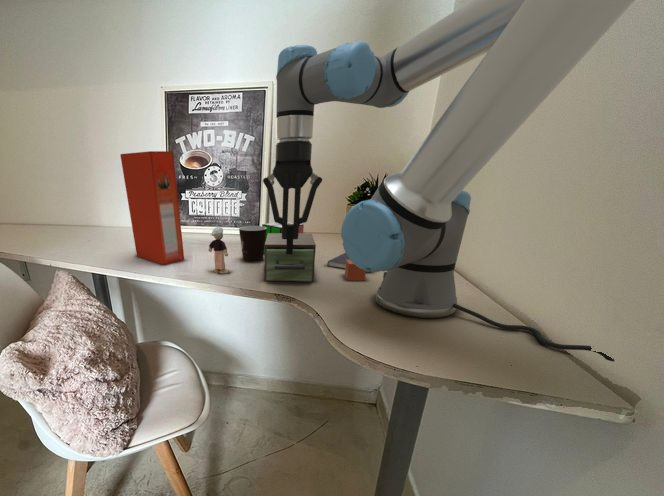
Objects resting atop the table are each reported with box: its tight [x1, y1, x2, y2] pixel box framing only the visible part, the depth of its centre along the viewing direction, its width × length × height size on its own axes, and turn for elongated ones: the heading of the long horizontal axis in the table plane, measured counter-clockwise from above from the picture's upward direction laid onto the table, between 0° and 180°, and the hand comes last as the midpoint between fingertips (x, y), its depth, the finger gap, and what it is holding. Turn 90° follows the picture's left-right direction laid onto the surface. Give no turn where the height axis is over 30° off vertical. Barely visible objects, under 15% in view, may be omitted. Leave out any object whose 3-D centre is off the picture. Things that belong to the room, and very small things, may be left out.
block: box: [344, 260, 367, 282], centre depth 87 cm, size 4×4×4 cm
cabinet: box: [264, 232, 317, 283], centre depth 92 cm, size 16×13×10 cm
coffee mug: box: [238, 225, 267, 263], centre depth 107 cm, size 12×9×10 cm
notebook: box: [327, 252, 372, 274], centre depth 103 cm, size 13×2×21 cm
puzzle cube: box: [261, 221, 304, 255], centre depth 112 cm, size 10×10×10 cm
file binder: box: [119, 150, 185, 266], centre depth 105 cm, size 8×17×32 cm, turn 44°
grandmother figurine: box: [208, 226, 229, 275], centre depth 94 cm, size 8×4×13 cm, turn 56°
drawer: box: [266, 248, 314, 282], centre depth 87 cm, size 20×11×8 cm, turn 173°
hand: (289, 252), depth 79 cm, fingers closed
